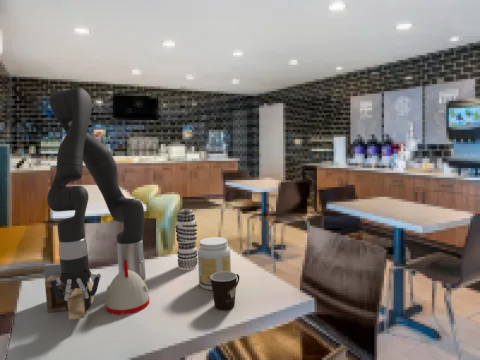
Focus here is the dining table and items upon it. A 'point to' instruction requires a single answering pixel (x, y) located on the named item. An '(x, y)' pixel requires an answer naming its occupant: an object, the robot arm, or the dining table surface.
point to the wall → (53, 270)
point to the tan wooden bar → (78, 303)
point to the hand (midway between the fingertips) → (79, 309)
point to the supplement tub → (212, 259)
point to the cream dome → (126, 293)
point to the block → (54, 296)
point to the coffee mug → (224, 289)
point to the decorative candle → (186, 239)
